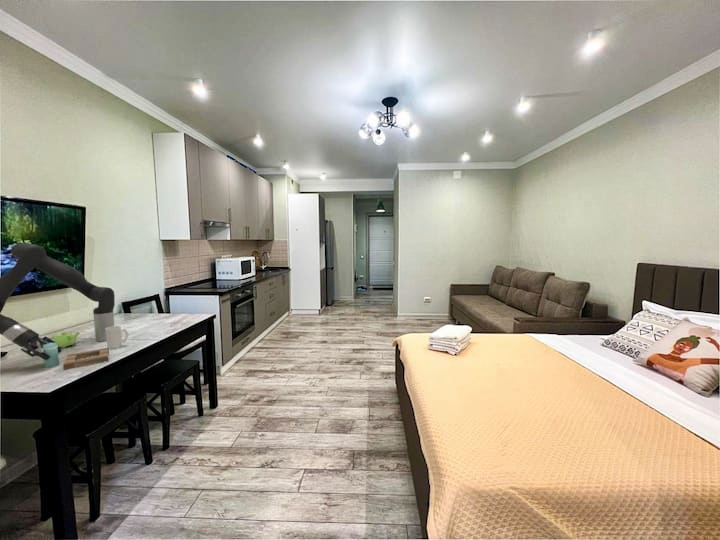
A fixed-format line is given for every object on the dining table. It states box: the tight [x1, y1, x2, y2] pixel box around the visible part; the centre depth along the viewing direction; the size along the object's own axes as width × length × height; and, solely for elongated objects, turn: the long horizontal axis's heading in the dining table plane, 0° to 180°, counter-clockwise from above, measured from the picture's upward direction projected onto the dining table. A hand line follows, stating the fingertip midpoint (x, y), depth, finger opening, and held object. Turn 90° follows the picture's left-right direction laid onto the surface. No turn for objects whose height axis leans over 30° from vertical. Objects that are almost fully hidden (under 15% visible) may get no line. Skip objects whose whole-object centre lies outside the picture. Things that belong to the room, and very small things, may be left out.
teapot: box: [50, 331, 80, 349], centre depth 164 cm, size 11×12×8 cm
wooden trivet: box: [62, 347, 110, 371], centre depth 146 cm, size 16×16×2 cm
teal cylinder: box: [42, 343, 60, 369], centre depth 138 cm, size 5×5×11 cm
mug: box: [106, 325, 129, 350], centre depth 164 cm, size 10×7×12 cm, turn 114°
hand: (54, 355), depth 139 cm, fingers open, 8 cm apart
